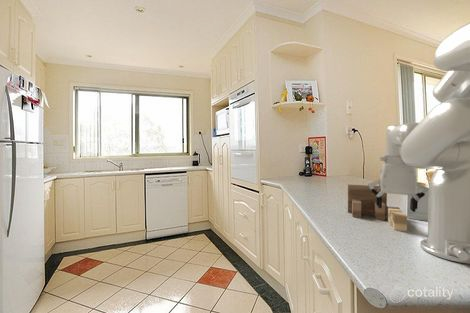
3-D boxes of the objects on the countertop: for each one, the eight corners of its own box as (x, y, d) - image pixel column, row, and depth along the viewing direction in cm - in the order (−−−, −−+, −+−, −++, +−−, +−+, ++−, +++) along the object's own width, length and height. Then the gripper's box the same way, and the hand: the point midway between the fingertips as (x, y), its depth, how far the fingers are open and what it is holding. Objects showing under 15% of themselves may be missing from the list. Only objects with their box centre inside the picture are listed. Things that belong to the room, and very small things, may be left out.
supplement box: (431, 221, 83) (431, 188, 83) (406, 218, 88) (406, 186, 87) (429, 217, 89) (430, 185, 89) (406, 213, 94) (406, 183, 93)
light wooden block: (407, 231, 74) (407, 216, 74) (393, 229, 75) (393, 214, 75) (398, 220, 85) (398, 207, 84) (386, 219, 86) (386, 206, 86)
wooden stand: (389, 220, 85) (390, 189, 85) (348, 216, 91) (348, 186, 90) (385, 215, 92) (386, 186, 91) (347, 211, 98) (347, 184, 97)
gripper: (370, 160, 78) (368, 209, 79) (434, 162, 70) (430, 215, 72) (367, 159, 84) (366, 203, 86) (425, 160, 77) (422, 209, 79)
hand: (395, 209), depth 79 cm, fingers open, 9 cm apart
